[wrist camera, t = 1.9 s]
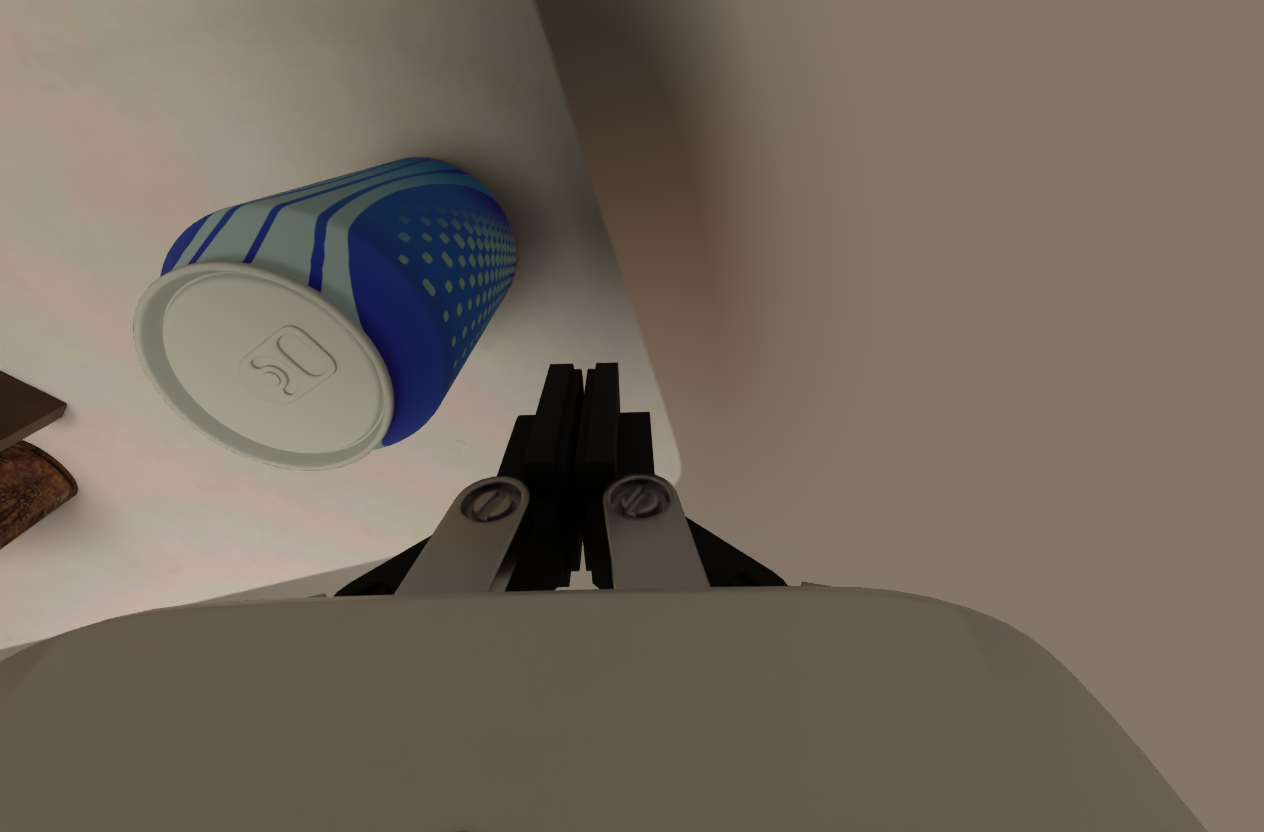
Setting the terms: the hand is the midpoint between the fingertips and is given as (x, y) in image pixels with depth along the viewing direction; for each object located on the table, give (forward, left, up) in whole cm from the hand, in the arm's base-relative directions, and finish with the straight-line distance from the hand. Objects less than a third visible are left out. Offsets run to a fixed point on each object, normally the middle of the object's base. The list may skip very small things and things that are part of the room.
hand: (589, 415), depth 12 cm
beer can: (-3, -8, -18) cm, 20 cm away
